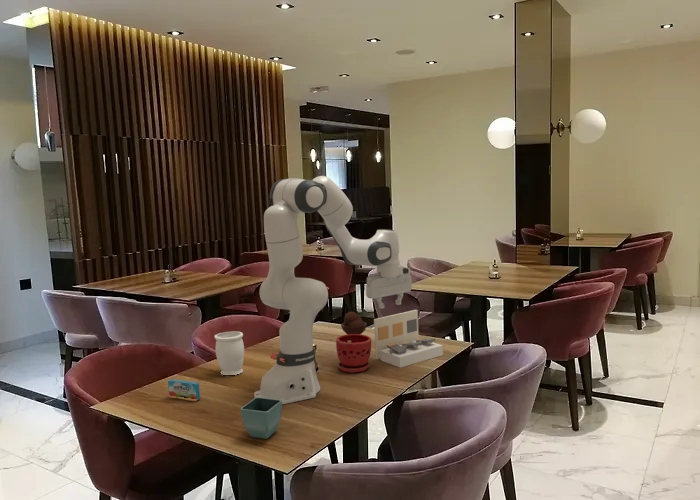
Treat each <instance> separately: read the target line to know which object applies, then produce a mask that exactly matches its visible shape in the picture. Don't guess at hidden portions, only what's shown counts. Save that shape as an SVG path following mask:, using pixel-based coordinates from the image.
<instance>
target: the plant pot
mask: <svg viewBox="0 0 700 500" xmlns="http://www.w3.org/2000/svg"><path fill="white" fill-rule="evenodd" d="M335 339H336V340H335V343H336V344H335V345H336V354H337V358H338V360H339V363H338V364H337V365H338V368H339V369H340V370H341V371H343V372H346V373H360V372H364V371H366V370H367V369H368V368H369V366H370V363H369V360H370V357H371V354H372V353H371V352H372V338H371V337H370V336H368V335H366V334H349V335H347V334H343V335H340V336H337V337H336V338H335ZM349 341H350V342H349ZM351 342H352V343H351ZM355 342H357V343H355Z"/></svg>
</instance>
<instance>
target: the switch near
mask: <svg viewBox="0 0 700 500" xmlns="http://www.w3.org/2000/svg"><path fill="white" fill-rule="evenodd" d="M387 347H388V348H389V349H392V350H393V351H394V352H396V353H398V354H400V353H404V352H407V350H406V349H404V348H403V347H401V346H399V345H397V344H396V343H393V344H389V345H387Z"/></svg>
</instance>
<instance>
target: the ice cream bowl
mask: <svg viewBox="0 0 700 500" xmlns="http://www.w3.org/2000/svg"><path fill="white" fill-rule="evenodd" d="M343 320H344V321H343V323H341V324H340V326H341V327H340V328H341V329H342V331H343V332H344V333H345V335H349V334H360V335H363V333H364V332H365V331H366V329H367V326H368V325H367V324H368V323H367V322H365V321H363V319H362V317H361V316H360V315H358V314H357V312H354V311H349V312H346V314H345V315H344V318H343ZM350 343H352V341H350ZM355 343H357V342H355Z"/></svg>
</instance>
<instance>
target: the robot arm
mask: <svg viewBox="0 0 700 500" xmlns="http://www.w3.org/2000/svg"><path fill="white" fill-rule="evenodd" d="M268 203H269V207H267V209H265V211H264V213H263V229H264V232H263V233H264V238H265V242H266V249H267V255H268V261H269V262H268V263H269V269H268V274H267V277H266V278H264V279H263V281H262V283H261V285H260V287H259V298H260V300H261V302H262V304H264V305H265V306H268V307H270V308H273V309H279V310H286V311H287V310H288V311H289V319H288V320H287V321H286V322H284V323H282V325H281V326H280V328H279V331H278V333H279V334H278V335H279V348H280V350H279V352H278V354H277V353H275V352H271V354H270V358H271V360H275V361H276V363H275V364H274V365H273V366H272V367H271V368H269V370H268V371H267V372H266V373H265V374H264V375H263V376H262V377H261V380H260V389H259V390H257V391H255V392H254V393H253V397H254V398H256V397H259V398H267V399H276V400H282V405H286V404H291V403H294V402H295V403H296V402H299V401H305V400H309V399H314V398H316V397H317V393H319V392H320V391H321V386H320V383H319V378H318V375H317V371H316V366H315V363H316V352H315V348H314V339H313V337H314V335H313V333H314V332H313V330H314V322H315V319H316V317H317V315H318V313H319V312H320V311H322V309H324V307H325V306H326V304H327V302H328V300H329V299H328V298H329V291H328V288H327V286H326V284H325V283H324V282H323V281H321V280H317V279H315V278H311V277H309V278H308V277H296V276H295V268H296V267H297V266H298V265H300V263H301V262H302V260H303V258H304V257H303V256H304V253H303V248H302V243H301V242H302V241H301V235H300V232H299V228H298V217H299V213H300V214H303V213H306V214H312V213H314V212H318V214H319V215H320V216H321V217H322V219H323V223H324V225H325V227H326V229H327V231H328V233H329V235H330V236H331V237H332V239H333V240H334V242H335V243H336V245H337V247H338V248H339V250H340V253H341V256H342V258H343V260H344V261H345V263H346V264H348V265H350V266H367V267H368V266H369V267H370V266H371V267H376V273H370V274H369V275H368V276H367V277H366V286H365V290H366V291H365V296H366V297H367V298H368V299H370V300H375V301H376V303H377V304H378V308H379V309H385V303H383V302H382V300H383V297H385V298H386V297H388V296H389V297H390V296H394V295H395V296H396V295H397V298H396V299H395V305H396V306H400V305H402V299H403V297H404V293H409V292H411V290H412V288H413V285H412V284H413V282H412V281H413V279H412V276H411V268H409V267H407V266H402V265H401V264H400V259H399V254H400V244H399V238H398V237H399V236H398V234H397V231H395V230H393V229H386V228H379V229H377V230H376V232H375V234H374V235H373V236H372V237H370V238H369V239H360V238H356V237H353V236H352V235H351V233H350V232H349V229H348V228H347V227H346V226H345V225H346V224H347V223H348V222H349V221H350V219H352V215H353V212H354V211H353V210H354V206H353V205H352V202H351V200H350V199H349V198H348V197H347V195H346V194H345V193H344V192H343V190H342V188H340V187H339V186H338V185H337V184H336V183H335V182H334V181H333V180H332V179H331V178H330V177H328V176H326V175H320V176H319V175H318V176H316V177H314V178H313V179H303V178H297V177H295V178H294V177H293V178H292V177H291V178H282V179H279V180H277V181H276V182H274V183H273V184H272V186H271V188H270V192H269V202H268ZM254 398H253V399H254Z"/></svg>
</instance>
